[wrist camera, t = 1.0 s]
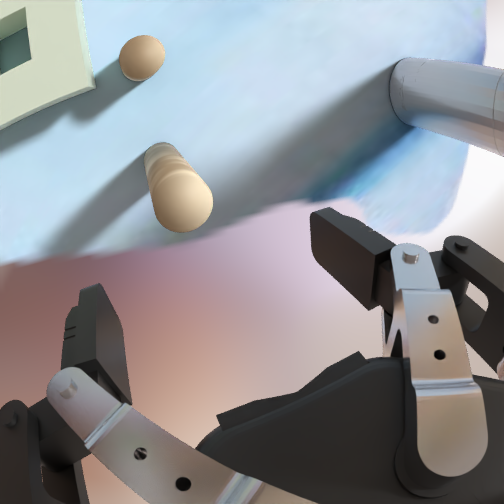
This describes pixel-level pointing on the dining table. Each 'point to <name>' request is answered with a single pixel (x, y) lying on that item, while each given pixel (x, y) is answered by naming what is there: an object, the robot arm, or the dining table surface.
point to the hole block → (44, 57)
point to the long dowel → (176, 189)
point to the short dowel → (141, 57)
